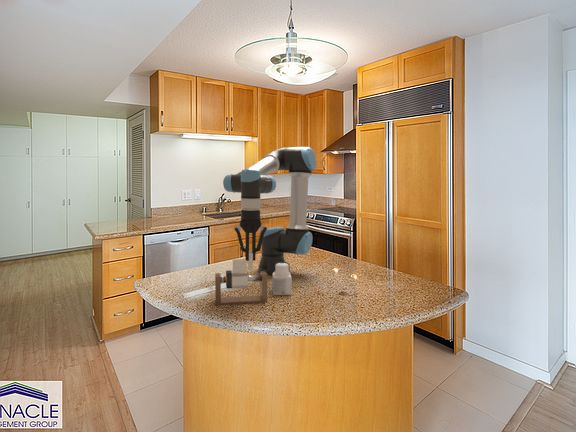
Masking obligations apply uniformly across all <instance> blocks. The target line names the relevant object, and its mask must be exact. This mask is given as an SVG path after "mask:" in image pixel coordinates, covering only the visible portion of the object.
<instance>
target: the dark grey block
mask: <svg viewBox="0 0 576 432" xmlns="http://www.w3.org/2000/svg"><path fill="white" fill-rule="evenodd" d="M225 276H226V277H227V283H225V285H226V290H227V289H228V290H229V289H233V288H232V272H231V270H225Z"/></svg>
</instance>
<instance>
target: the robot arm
mask: <svg viewBox="0 0 576 432" xmlns="http://www.w3.org/2000/svg"><path fill="white" fill-rule="evenodd" d="M316 167H317V157H316V154H315V151H314V149H313V148H311V147H309V146H294V147H292V146H291V147H281V148H278V149H275V150H272V151H270V152H268V153H267V154H265V155H264V156H263V158H262V159H261V160H259V161H257V162H255V163H253V164H252V165H250V166H248V167H246V168H245V169H242V170H241V171H239V172H237V173H236V174H227V175H225V176H224V178H223V181H222V184H223V188H224V190H225V191H226V192H228V193H240V194H241V195H240V208H241V211H240V222H239V224H238V225H237V226H235V227H234V228H233V229H234V231H235V232H236V235H237V239H238V243H239V247H240V250H241V252H244V254H245V259H246V262H247V266H248V267H247V269H248V270H251V271H252V270H253V268H254V266H253V265H254V264H253V263H254V262H255V261H256V255H257V254H256V253H257V252H260V251H261V257H260V260H259V264H258V267H257V268H258V269H257V270H258V272H259V273H260V274H261V271H266V273H267V275H273V272H274V264H275V263H277V262H286V260H285V255H284V254H293V255H294V254H295V255H297V256H298V255H302V256H303V255H307V254H308V253H309V252H310V250H311V248H312V244H313V239H314V238H313V234H312V232H311V231H310V227H308V225H307V214H308V213H307V212H308V211H307V210H308V208H307V207H308V197H309V195H308V191H309V178H310V176H312V172H313V171H315V170H316ZM277 171H288V175H289V176H290V177H291V178H290V181H291V182H290V198H289V199H290V203H289V220H288V222H289V223H288V224H287V226H285V227H283V226H273V227H266V225H265V226H264V225H263V224H262V221H261V210H260V209H261V194H270V193H272V192H274V191H275V190H276V188H277V181H276V179H275V177H274V176H272V175H269V174H271V173H276V172H277ZM241 229H242V230H243V232H244V233H245V243H243V239H242V234H241ZM259 230H260V232H259V236H258V240H256V237H257V232H258V231H259ZM250 234H251V251H250ZM256 241H257V243H256ZM244 244H245V246H244Z"/></svg>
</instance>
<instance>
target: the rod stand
mask: <svg viewBox="0 0 576 432" xmlns="http://www.w3.org/2000/svg"><path fill="white" fill-rule="evenodd" d="M214 274H215V275H214V276H215V277H214V278H215V279H214V282H215V283H214V284H215V285H214V287H215V290H214V292H215V297H214V299H215V300H214V301H215V306H224V305H239V304H240V305H242V304H256V303H257V304H258V303H268V274H267V273H266V271H261V273H260V274H254V275H253V274H252V275H248V282H249V283H250V282H260V285H259V287H260V288H259V289H260V292H259V293H260V294H259V295H244V296H243V295H242V296H226V297H225V296H224V297H222V295H221V294H222V292H221V291H222V284H223V283H224V284H226V283H227V277H226V275H225V276H222V275H221V272H217V273H214Z"/></svg>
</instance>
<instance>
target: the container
mask: <svg viewBox="0 0 576 432" xmlns="http://www.w3.org/2000/svg"><path fill="white" fill-rule="evenodd" d="M290 268H291V267H290V263H289V262H287V261H285V262H277V263H275V264H274V272H273V274H272V281H271V282H272V284H271V285H272V287H271V289H272V294H273V295H272V296H287V295H289V296H291V295H292V283H293V282H292V279H293V278H292V275H291V272H290V271H291V270H290Z"/></svg>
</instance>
